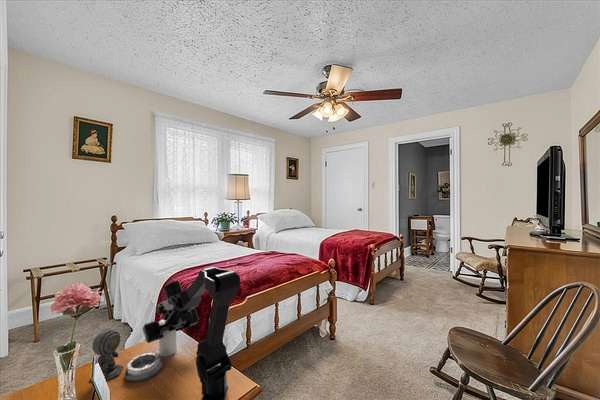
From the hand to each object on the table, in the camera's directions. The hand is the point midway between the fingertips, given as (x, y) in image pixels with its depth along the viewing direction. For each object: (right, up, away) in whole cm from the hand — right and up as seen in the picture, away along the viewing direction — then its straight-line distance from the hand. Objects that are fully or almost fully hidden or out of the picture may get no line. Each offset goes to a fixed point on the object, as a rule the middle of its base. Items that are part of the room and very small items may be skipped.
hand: (166, 333), depth 105 cm
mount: (-2, -7, -12) cm, 14 cm away
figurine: (-14, -7, -13) cm, 20 cm away
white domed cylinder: (+1, -7, -1) cm, 7 cm away
